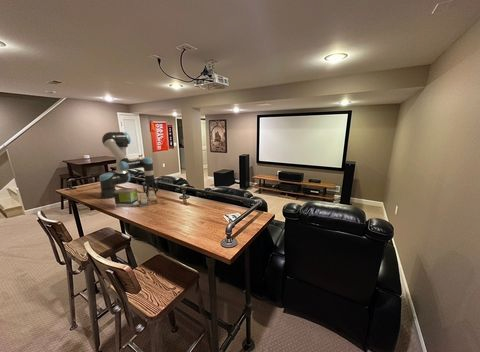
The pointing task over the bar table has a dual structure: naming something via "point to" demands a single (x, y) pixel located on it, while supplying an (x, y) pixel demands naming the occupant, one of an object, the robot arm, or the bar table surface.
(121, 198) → the tea box
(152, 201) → the grey brown flat frame
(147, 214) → the bar table surface
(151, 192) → the beige wooden block
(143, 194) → the tan block
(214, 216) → the bar table surface
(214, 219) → the bar table surface
